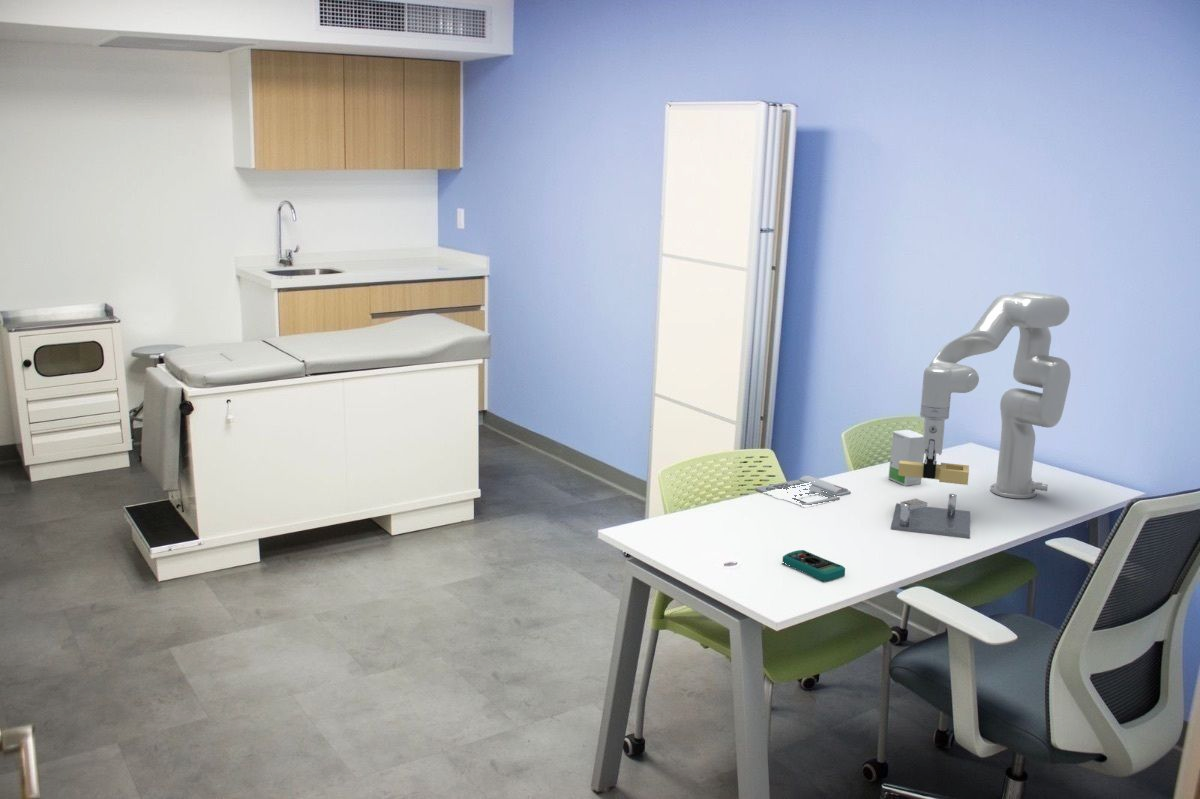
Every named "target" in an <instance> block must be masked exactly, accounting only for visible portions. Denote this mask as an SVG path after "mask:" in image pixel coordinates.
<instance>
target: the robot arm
mask: <svg viewBox="0 0 1200 799" xmlns="http://www.w3.org/2000/svg"><path fill="white" fill-rule="evenodd" d="M1069 316H1070V304H1069V302H1068V300H1067V299H1066V298H1065V297H1063V296H1061V295H1055V294H1048V293H1040V292H1034V291H1033V292H1031V291H1018V292H1015V293H1013V294H1002V295H999V296H998V297H996V298H995V299H994V300H993V301H992V302H991V304H990V305H989V307H987V309H985V312H984V313H983V314H982V316H981V317H980V318H979V320H978V321H977V322H976V324H975V325H974V327H973V328H972V329H971V330H970V331H969V332H967V333H965V334H962V335H960V336H958V337H956V338H955V339H953V340H952V341H950V342H948V343H946V344H945V345H943V347H942V348H941V349H940V350H939V351H938V352H937V353H936V355H935V356H934V358H933V359H932V360H931V362H930V363H929V365H928V367H926V368H925V369H924V371H923V378H922V389H921V390H922V391H921V404H920V413H919V414H920V415H919V416H920V417H921V418H923V419H924V421H923V434H922V435H923V452H924V454H925V456H924V460H923V463H924V470H923V477H924V478H923V479H928V478H932V479H931V480H935V479H934V478H935V472H936V464H937V455H939V456H941V455H942V453H943V446H944V435H945V420H948V419H950V407H951V397H952V396H951V395H952V393H956V394H967V393H970V392H972V391H974V390H975V389H976V387H978V385H979V381H980V376H979V373H978V371H977V370H976V369H974V368H973V367H971V366H969V365H968V366H967V365H963V364H959V362H960V361H962V360H963V359H964V360H965V359H966V358H969V357H973V356H978V355H982V354H987V353H991V352H993V351H995V350H997V349H998V348H999V347H1000V346H1001V344H1002V343H1003V341H1004V340H1005V338H1006V337H1007V336H1008V334H1009V333H1010V332H1011V330H1012V329H1013V328H1015V327H1018V329H1019V341H1018V346H1017V351H1016V355H1015V359H1014V360H1015V361H1014V364H1013V369H1012V370H1013V371H1012V372H1013V374H1012V375H1013V379H1014V380H1015V381H1016V382H1017V383H1020V384H1022V385H1026V386H1030V387H1035V388H1040V389H1042V392H1039V391H1035V390H1030V389H1025V388H1019V387H1017V388H1014V387H1013V388H1011V389H1008V390H1007V391H1005V392H1004V393H1003V394H1002V395H1001V398H1000V403H999V408H1000V409H999V411H1000V417H1001V418H1000V419H1001V431H1000V442H999V454H998V463H997V472H996V473H997V474H996V481H995V482H996V483H993V484H991V485H990V492H992V494H995V495H996V496H997V495H998V496H1001V497H1005V498H1011V499H1022V500H1023V499H1030V498H1033V497H1035V496H1036V490H1037V491H1041V492H1043V491H1044V492H1048V484H1044V483H1043V482H1035V481H1033V477H1032V475H1033V474H1032V473H1033V465H1034V454H1035V446H1036V433H1035V429H1034V426H1038V427H1041V428H1049V429H1050V428H1053V427H1055V426H1056V425H1058V423H1059V422H1060V421H1061V419H1062V415H1063V412H1064V408H1065V404H1066V399H1067V397H1068V396H1067V395H1068V390H1069V385H1070V384H1071V383H1070V381H1071V368H1070V365H1069V363H1068V362H1067V360H1065V359H1063V358H1061V357H1058V356H1053V355H1052V356H1051V355H1050V348H1051V344H1052V333H1051V331H1050V328H1052V327H1057V326H1060V325H1062V324H1063V323H1064V322H1065V321H1066V320H1067V319H1068V317H1069Z"/></svg>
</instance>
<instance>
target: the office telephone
mask: <svg viewBox="0 0 1200 799" xmlns="http://www.w3.org/2000/svg"><path fill="white" fill-rule="evenodd" d="M814 481H815V482H814ZM809 482H811V483H810V484H812V485H811V486H809V487H810V488H809V490H810V491H809V493H805V494H808V495H809V494H815V493H819V494H821V495H823V496H825V497H828V498H825V497H824V499H819V500H815V501H809V502H806V501H804V500H801V499H796V498H792V499H794V500H797V501H800V502H799V503H801V504H802V505H812V504H818V503H823V502H829V501H833V502H835V501H834V500H837V501H839V499H841V498H840V497H843V496H848V495H851V494H852V492H851V490H848V488H845V487H842V486H840V485H837V484H834V483H832V482H828V481H825V480H822V479H819V478H816V477H813V476H811V475H804V476H801V477H800V478H799V479H794V480H789V481H783V482H779V483H774V484H769V485H764V486H758V487H755V488H754V490H755V491H756V492H758V493H761V494H763V493H762V492H767V491H771V490H775V489H782V488H783V489H786V490H787V489H789V488H788V487H790V486H794V487H792V488H796V487H795V485H800V484H804V483H809ZM807 485H809V484H807ZM801 486H806V485H801ZM797 487H798V486H797ZM799 487H800V486H799ZM790 488H791V487H790ZM803 490H808V489H806V488H805V489H803ZM799 491H800V490H799ZM823 491H824V492H823ZM800 492H801V491H800ZM826 492H827V493H826ZM787 493H788V492H787ZM799 495H800V496H802V495H803V494H799ZM834 495H835V496H834ZM794 496H795V497H796V496H797V495H794ZM823 496H822V497H823ZM837 496H840V497H837ZM797 501H796V502H797ZM829 503H830V502H829Z"/></svg>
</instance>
